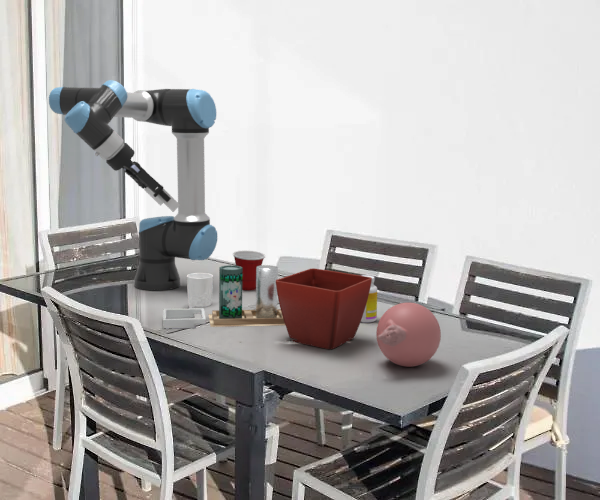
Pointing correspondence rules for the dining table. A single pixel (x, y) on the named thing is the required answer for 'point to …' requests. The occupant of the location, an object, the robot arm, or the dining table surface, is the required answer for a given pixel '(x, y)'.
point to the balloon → (408, 334)
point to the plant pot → (322, 306)
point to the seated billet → (266, 291)
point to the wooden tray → (245, 320)
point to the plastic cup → (248, 267)
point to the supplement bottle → (370, 304)
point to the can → (230, 292)
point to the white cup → (199, 289)
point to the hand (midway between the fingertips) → (170, 205)
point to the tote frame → (182, 314)
